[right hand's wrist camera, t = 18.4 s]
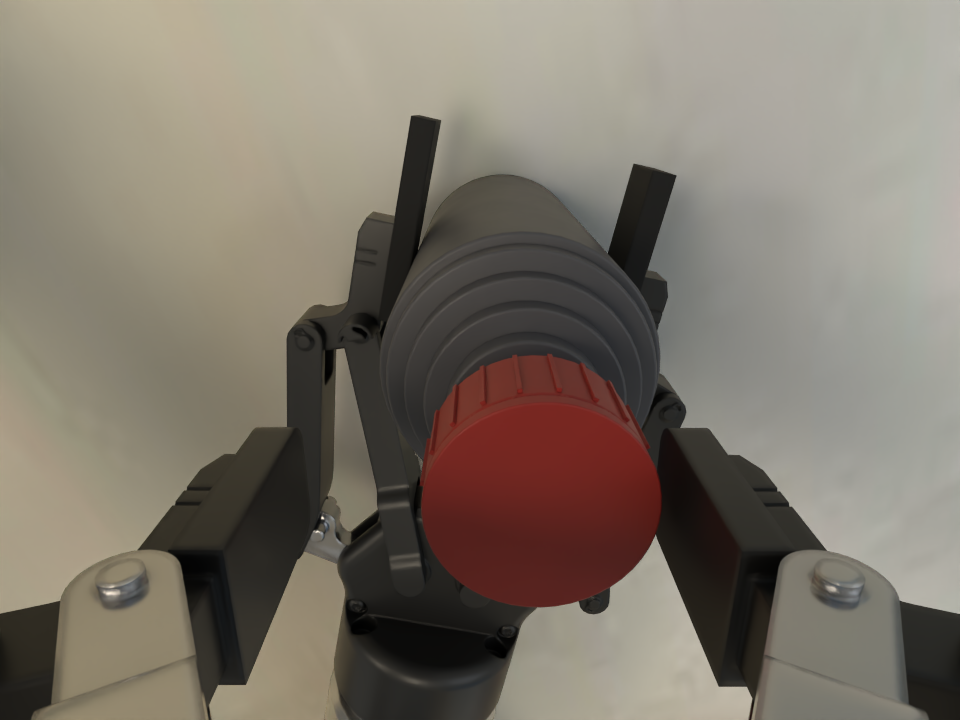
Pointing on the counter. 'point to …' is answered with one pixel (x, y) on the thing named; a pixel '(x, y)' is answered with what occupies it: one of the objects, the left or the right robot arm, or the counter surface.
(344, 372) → the counter surface
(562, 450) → the cap
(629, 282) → the bottle
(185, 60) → the counter surface
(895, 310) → the counter surface
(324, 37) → the counter surface
